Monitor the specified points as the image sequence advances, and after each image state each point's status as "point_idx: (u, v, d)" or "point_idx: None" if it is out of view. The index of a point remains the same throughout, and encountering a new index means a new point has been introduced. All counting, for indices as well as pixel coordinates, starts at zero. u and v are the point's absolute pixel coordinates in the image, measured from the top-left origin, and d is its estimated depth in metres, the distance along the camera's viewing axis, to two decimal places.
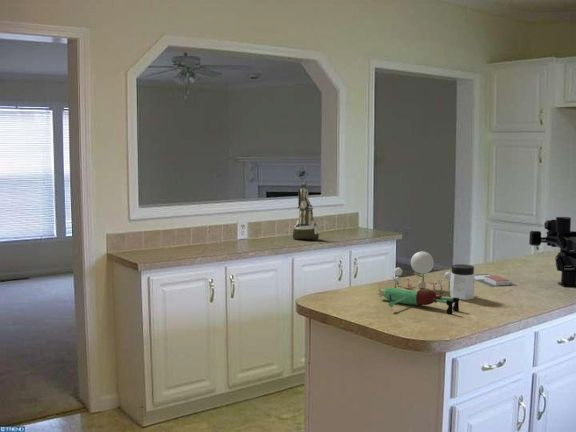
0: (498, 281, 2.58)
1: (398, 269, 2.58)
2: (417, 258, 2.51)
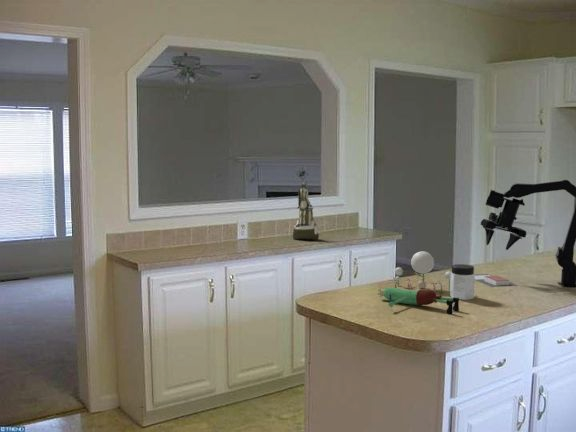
0: (498, 281, 2.58)
1: (398, 269, 2.58)
2: (417, 257, 2.52)
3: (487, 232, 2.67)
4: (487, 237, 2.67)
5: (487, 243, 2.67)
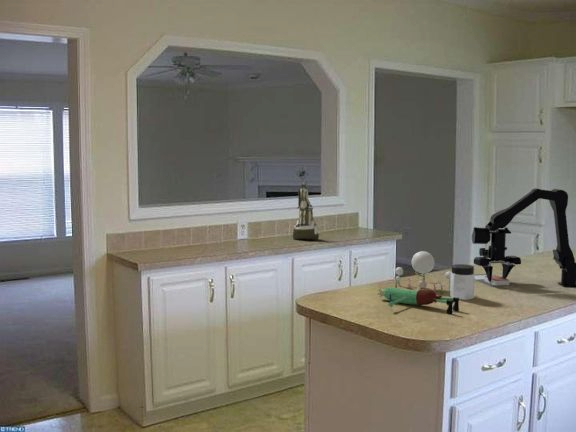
0: (498, 281, 2.58)
1: (399, 269, 2.59)
2: (418, 257, 2.52)
3: (486, 269, 2.62)
4: (487, 274, 2.62)
5: (489, 280, 2.62)
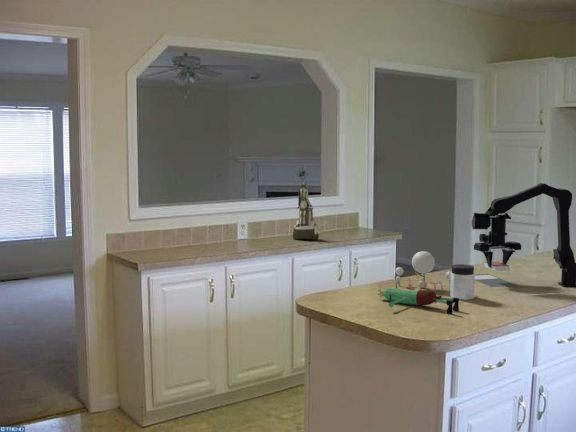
0: (498, 267, 2.58)
1: (399, 269, 2.59)
2: (418, 257, 2.52)
3: (486, 255, 2.62)
4: (487, 260, 2.61)
5: (489, 266, 2.61)
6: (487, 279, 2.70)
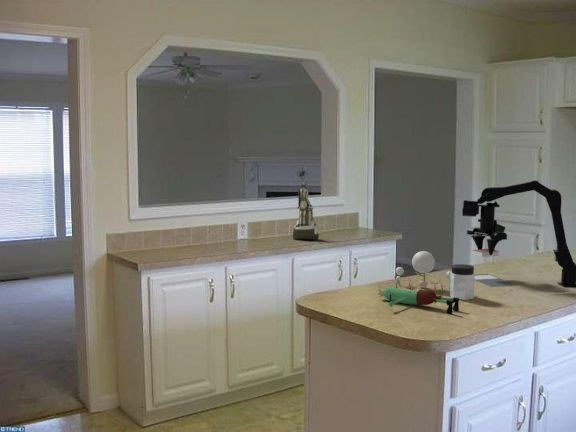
0: (474, 251, 2.70)
1: (399, 269, 2.59)
2: (418, 257, 2.52)
3: None
4: None
5: None
6: (487, 279, 2.70)
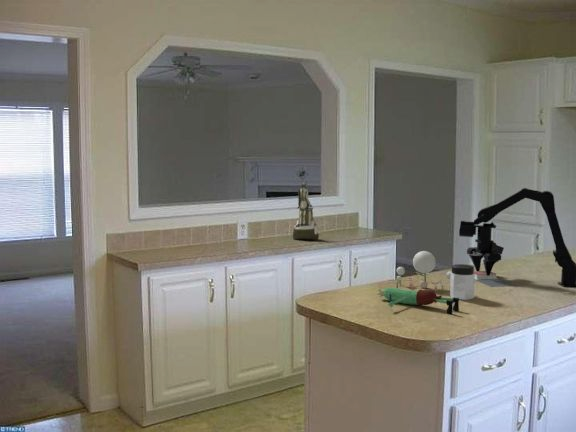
0: None
1: (400, 268, 2.59)
2: (419, 257, 2.52)
3: None
4: None
5: (476, 270, 2.78)
6: (487, 279, 2.70)
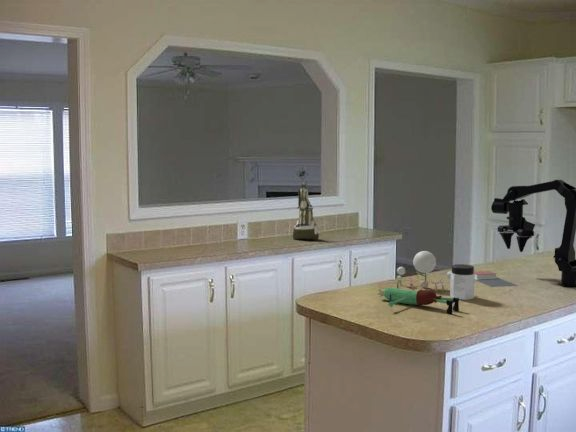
0: None
1: (401, 268, 2.60)
2: (419, 257, 2.53)
3: None
4: None
5: (507, 247, 2.82)
6: (487, 279, 2.70)
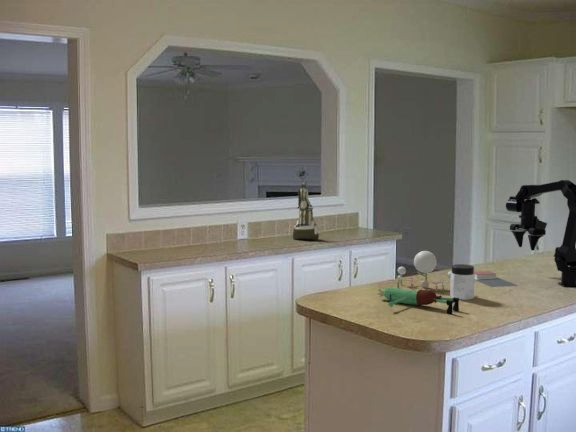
0: None
1: (401, 268, 2.60)
2: (420, 257, 2.53)
3: None
4: None
5: None
6: (487, 279, 2.70)
